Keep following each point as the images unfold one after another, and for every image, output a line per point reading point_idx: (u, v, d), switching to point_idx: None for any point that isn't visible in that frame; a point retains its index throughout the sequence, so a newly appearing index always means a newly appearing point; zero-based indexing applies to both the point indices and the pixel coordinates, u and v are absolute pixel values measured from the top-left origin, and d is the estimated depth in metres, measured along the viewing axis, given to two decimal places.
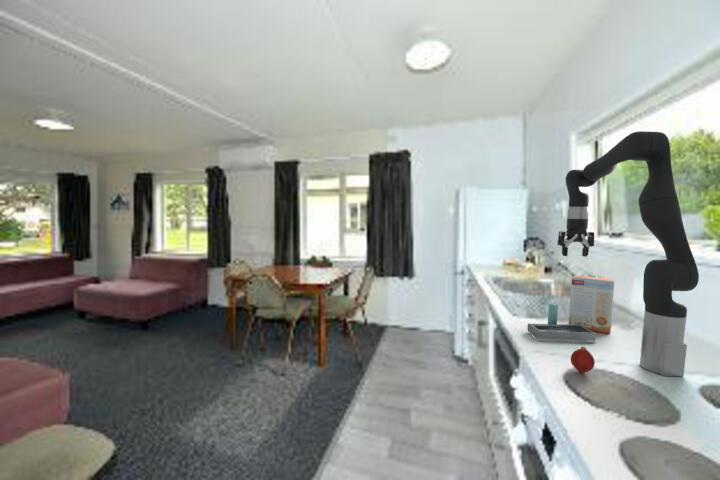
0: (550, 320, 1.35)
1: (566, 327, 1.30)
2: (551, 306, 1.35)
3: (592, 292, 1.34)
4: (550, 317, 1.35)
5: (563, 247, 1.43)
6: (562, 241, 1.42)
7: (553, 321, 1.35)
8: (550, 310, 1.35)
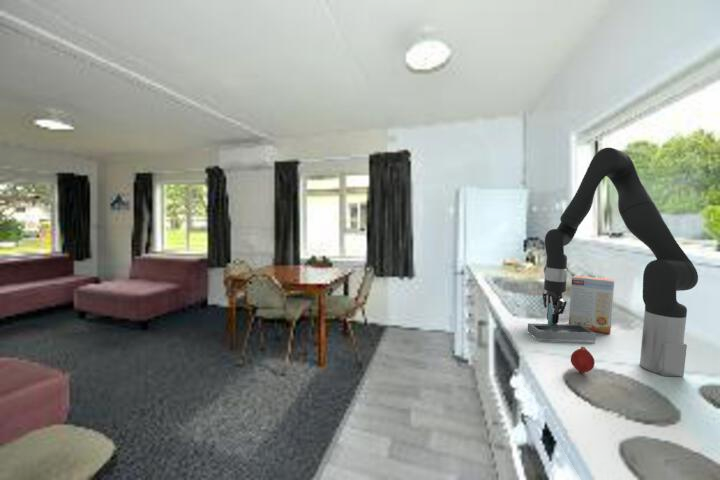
0: (550, 320, 1.35)
1: (566, 327, 1.30)
2: None
3: (592, 292, 1.34)
4: (551, 317, 1.35)
5: (557, 314, 1.33)
6: None
7: None
8: (550, 310, 1.35)
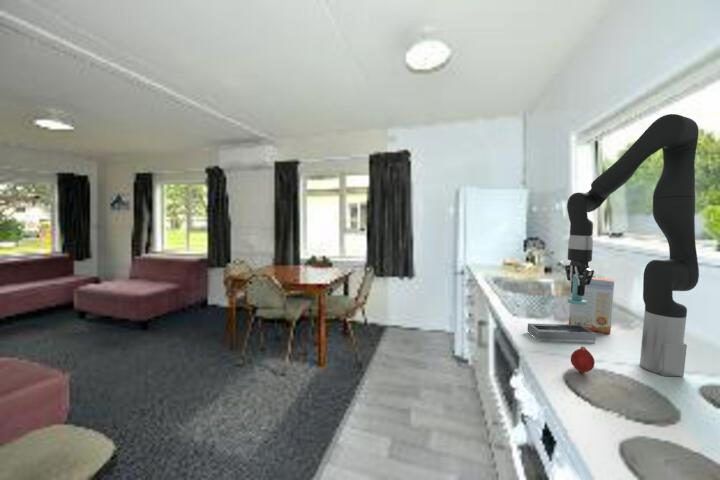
0: (575, 293, 1.24)
1: (566, 327, 1.30)
2: None
3: (592, 292, 1.34)
4: (576, 289, 1.24)
5: (583, 286, 1.22)
6: None
7: None
8: (575, 282, 1.24)
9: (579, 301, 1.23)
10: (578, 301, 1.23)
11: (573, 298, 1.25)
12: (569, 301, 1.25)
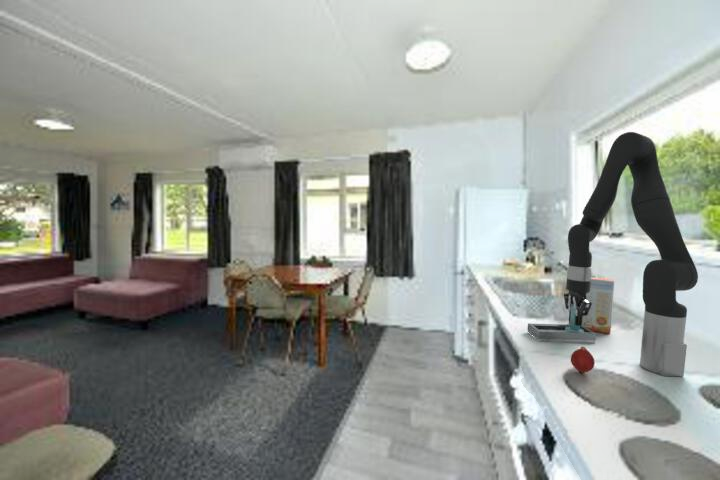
0: (573, 322, 1.26)
1: None
2: None
3: (592, 292, 1.34)
4: (573, 319, 1.25)
5: (581, 316, 1.23)
6: None
7: None
8: (573, 311, 1.25)
9: (576, 331, 1.24)
10: (575, 331, 1.25)
11: (571, 327, 1.26)
12: (567, 330, 1.27)
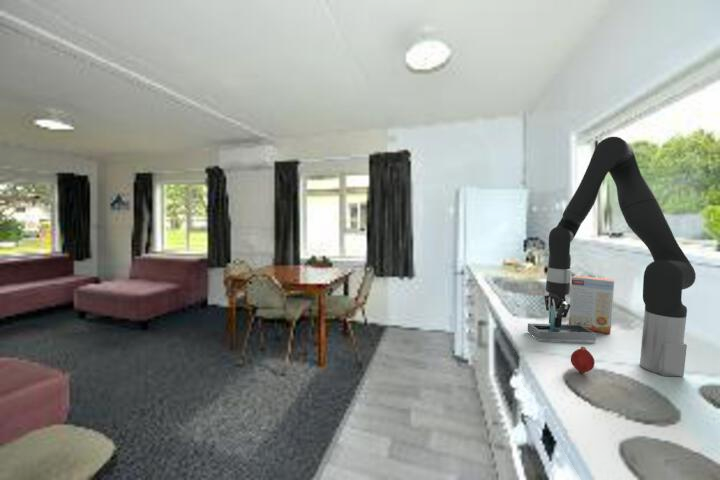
0: (552, 324, 1.26)
1: (566, 327, 1.30)
2: None
3: (592, 292, 1.34)
4: (553, 321, 1.26)
5: (560, 318, 1.24)
6: None
7: None
8: (552, 313, 1.26)
9: None
10: None
11: (550, 329, 1.27)
12: None
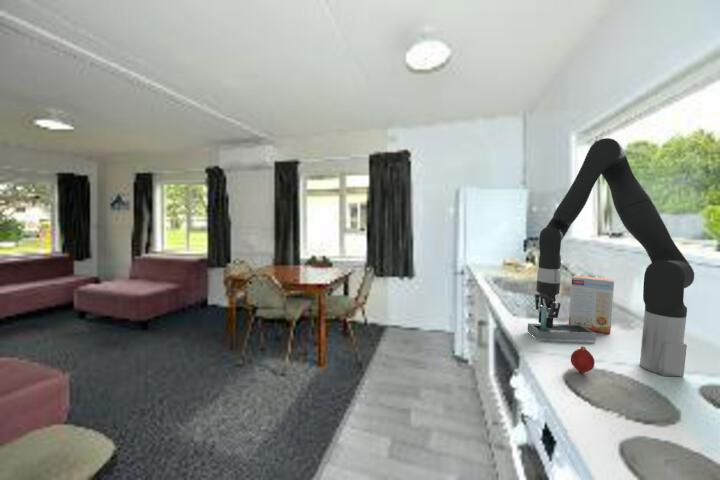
0: (543, 325, 1.26)
1: (566, 327, 1.30)
2: (544, 310, 1.25)
3: (592, 292, 1.34)
4: (543, 322, 1.25)
5: (552, 318, 1.23)
6: None
7: None
8: (543, 314, 1.26)
9: None
10: None
11: None
12: None
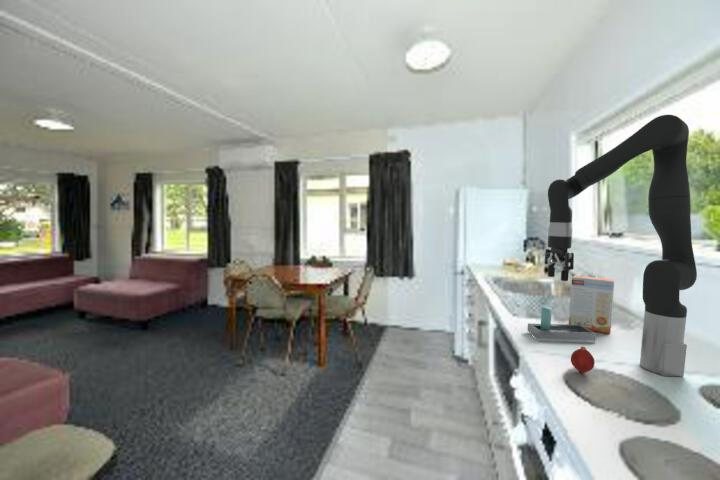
0: (543, 325, 1.26)
1: (566, 327, 1.30)
2: (544, 310, 1.25)
3: (592, 292, 1.34)
4: (543, 322, 1.25)
5: (567, 271, 1.20)
6: None
7: (546, 326, 1.25)
8: (543, 314, 1.26)
9: None
10: None
11: None
12: None
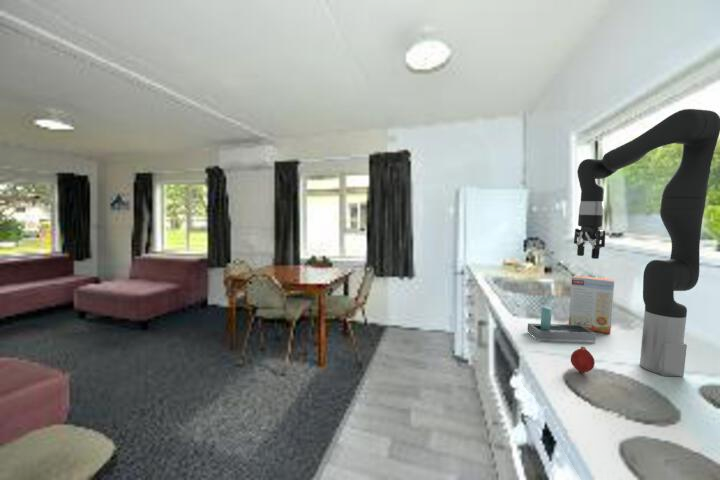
0: (543, 325, 1.26)
1: (566, 327, 1.30)
2: (544, 310, 1.25)
3: (592, 292, 1.34)
4: (543, 322, 1.25)
5: (598, 249, 1.22)
6: None
7: (546, 326, 1.25)
8: (543, 314, 1.26)
9: None
10: None
11: None
12: None
